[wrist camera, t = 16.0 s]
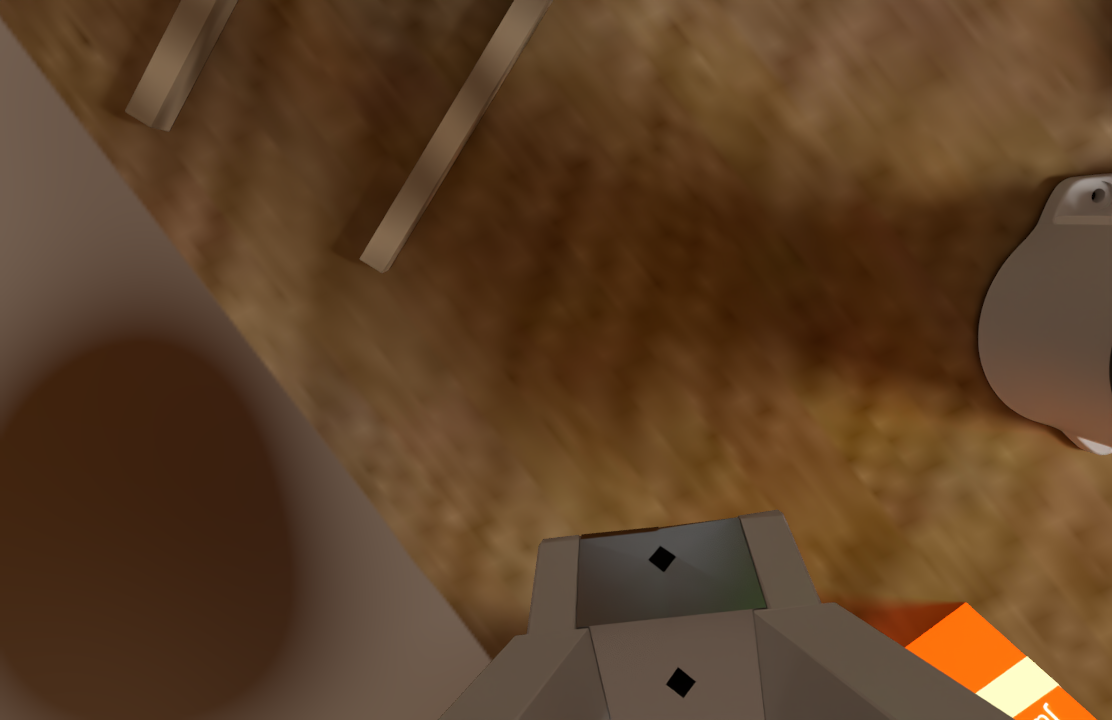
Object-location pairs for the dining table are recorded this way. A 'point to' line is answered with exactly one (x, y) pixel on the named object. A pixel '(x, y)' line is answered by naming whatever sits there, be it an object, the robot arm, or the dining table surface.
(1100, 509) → the dining table surface
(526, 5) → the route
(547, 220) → the dining table surface
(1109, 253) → the robot arm
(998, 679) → the orange juice
